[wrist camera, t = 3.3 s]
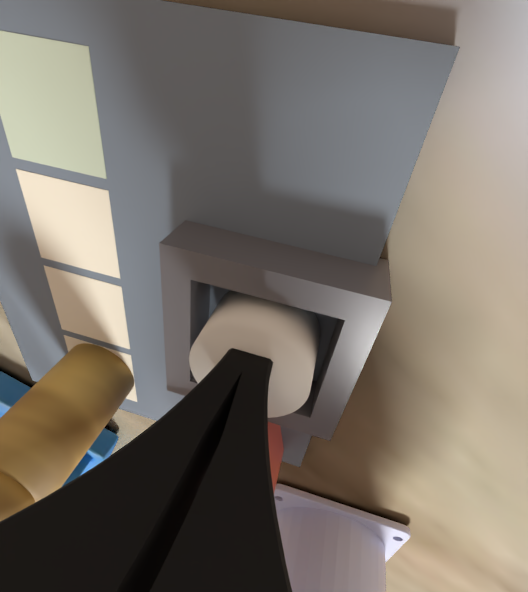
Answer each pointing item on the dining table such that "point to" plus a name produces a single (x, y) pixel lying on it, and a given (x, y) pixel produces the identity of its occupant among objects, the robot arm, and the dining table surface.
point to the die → (275, 450)
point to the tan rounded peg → (58, 424)
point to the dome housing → (279, 288)
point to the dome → (263, 345)
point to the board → (188, 160)
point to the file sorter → (7, 391)
